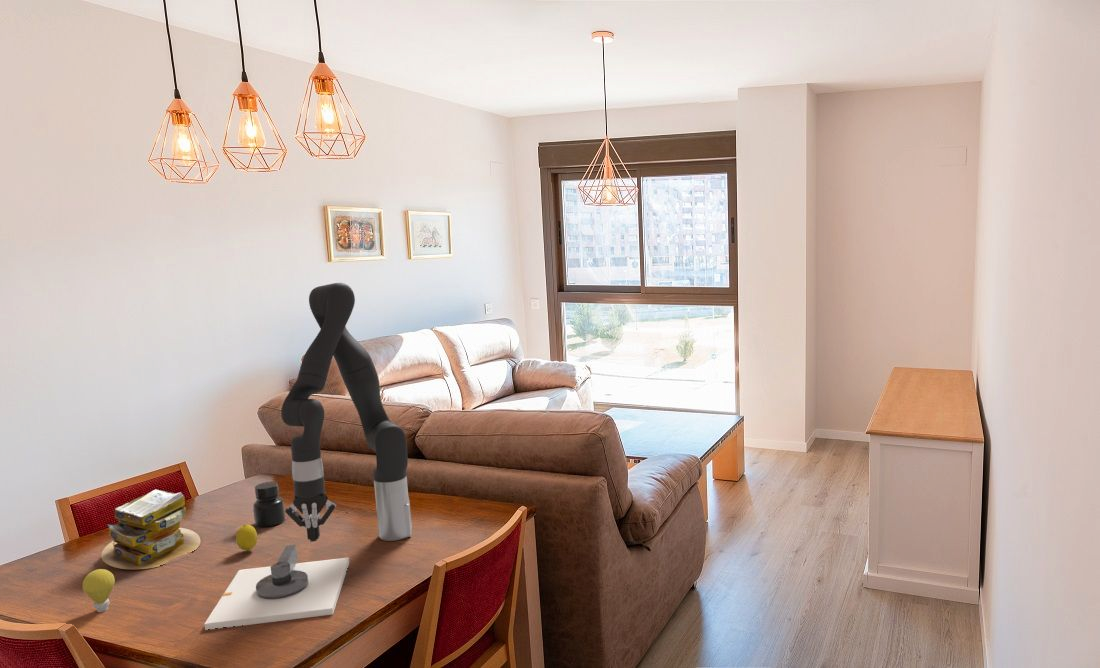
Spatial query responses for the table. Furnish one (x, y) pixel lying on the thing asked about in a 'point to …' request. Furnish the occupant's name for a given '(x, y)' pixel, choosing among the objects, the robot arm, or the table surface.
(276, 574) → the dial
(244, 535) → the lemon
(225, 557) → the table surface
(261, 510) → the ink bottle
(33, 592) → the table surface
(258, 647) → the table surface
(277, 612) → the dial plate
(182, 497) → the stack of boxes
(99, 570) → the light bulb
